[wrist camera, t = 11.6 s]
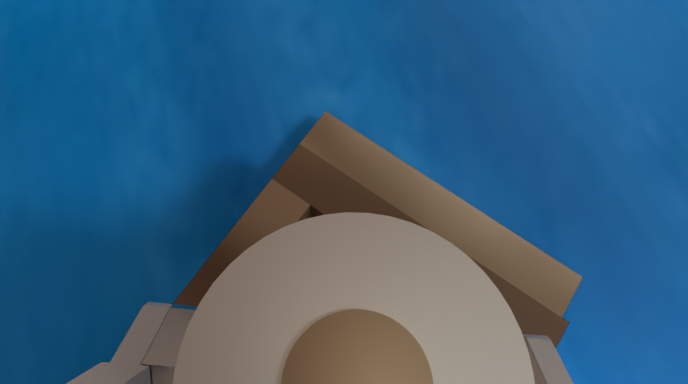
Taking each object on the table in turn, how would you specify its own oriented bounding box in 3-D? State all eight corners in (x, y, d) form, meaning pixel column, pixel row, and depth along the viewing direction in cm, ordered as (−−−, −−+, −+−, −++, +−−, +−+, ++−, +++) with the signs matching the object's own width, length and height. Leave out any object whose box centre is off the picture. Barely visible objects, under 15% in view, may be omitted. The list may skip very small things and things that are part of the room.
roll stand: (325, 123, 22) (327, 64, 17) (567, 281, 20) (638, 260, 16) (58, 463, 17) (-32, 500, 13) (344, 704, 16) (354, 842, 11)
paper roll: (314, 255, 15) (314, 150, 8) (448, 349, 15) (598, 338, 7) (212, 396, 14) (87, 442, 6) (356, 507, 13) (415, 713, 5)
